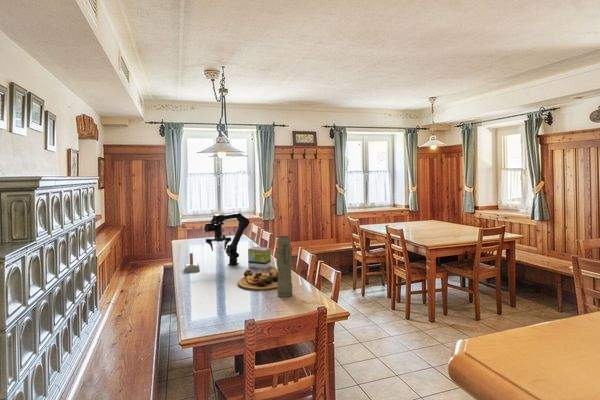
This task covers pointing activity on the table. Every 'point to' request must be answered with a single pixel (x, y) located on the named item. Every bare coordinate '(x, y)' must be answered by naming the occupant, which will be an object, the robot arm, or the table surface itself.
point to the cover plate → (191, 260)
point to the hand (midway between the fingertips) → (218, 250)
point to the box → (192, 268)
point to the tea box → (259, 257)
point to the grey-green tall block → (284, 267)
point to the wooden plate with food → (259, 280)
